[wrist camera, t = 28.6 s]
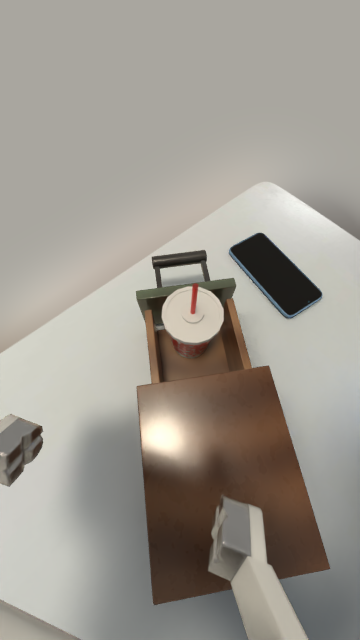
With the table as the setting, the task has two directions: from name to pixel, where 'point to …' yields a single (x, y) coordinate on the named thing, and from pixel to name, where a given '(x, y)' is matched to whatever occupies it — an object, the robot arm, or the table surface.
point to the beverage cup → (192, 319)
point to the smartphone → (275, 274)
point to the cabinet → (220, 478)
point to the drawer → (223, 347)
